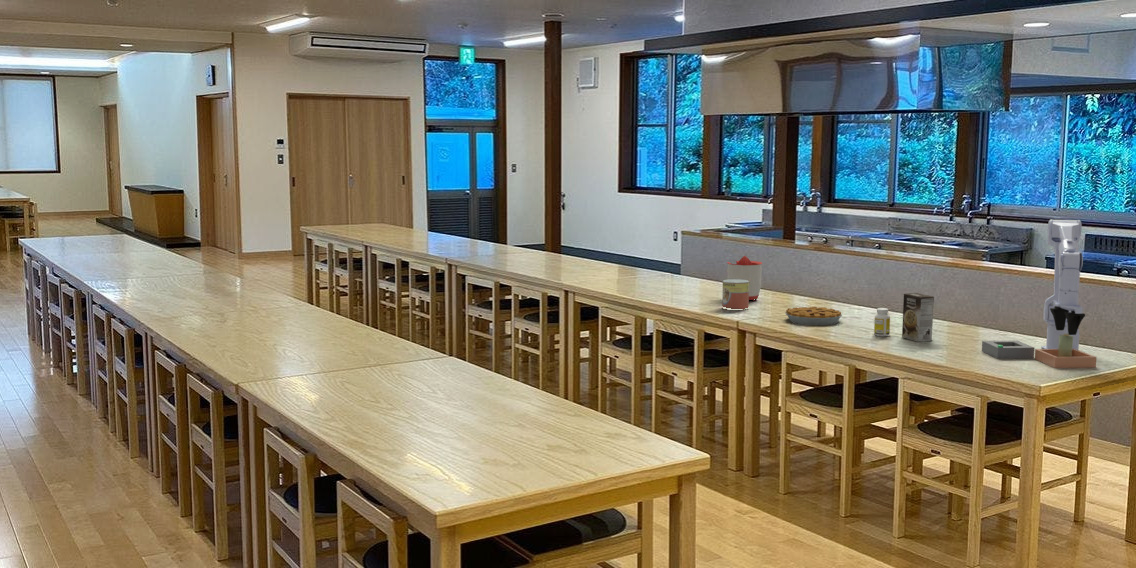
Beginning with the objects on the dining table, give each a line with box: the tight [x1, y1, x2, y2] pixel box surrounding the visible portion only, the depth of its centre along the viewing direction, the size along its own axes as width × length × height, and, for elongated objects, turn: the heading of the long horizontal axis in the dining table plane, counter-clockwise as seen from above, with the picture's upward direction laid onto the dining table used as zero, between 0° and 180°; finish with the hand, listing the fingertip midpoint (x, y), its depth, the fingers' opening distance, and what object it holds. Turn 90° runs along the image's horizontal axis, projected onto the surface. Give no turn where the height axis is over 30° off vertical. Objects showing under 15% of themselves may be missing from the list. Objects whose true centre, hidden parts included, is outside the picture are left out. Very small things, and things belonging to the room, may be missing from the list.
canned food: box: [721, 278, 750, 309], centre depth 431 cm, size 11×11×12 cm
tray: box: [1034, 348, 1098, 369], centre depth 321 cm, size 13×13×3 cm
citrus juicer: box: [725, 255, 763, 301], centre depth 455 cm, size 16×17×20 cm
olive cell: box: [1058, 334, 1073, 357], centre depth 321 cm, size 4×4×9 cm
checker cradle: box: [981, 340, 1036, 359], centre depth 335 cm, size 12×12×4 cm
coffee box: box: [901, 292, 935, 343], centre depth 361 cm, size 9×6×16 cm
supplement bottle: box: [873, 307, 891, 337], centre depth 369 cm, size 5×5×10 cm
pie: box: [785, 306, 843, 326], centre depth 400 cm, size 22×22×5 cm
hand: (1066, 332), depth 320 cm, fingers open, 7 cm apart
